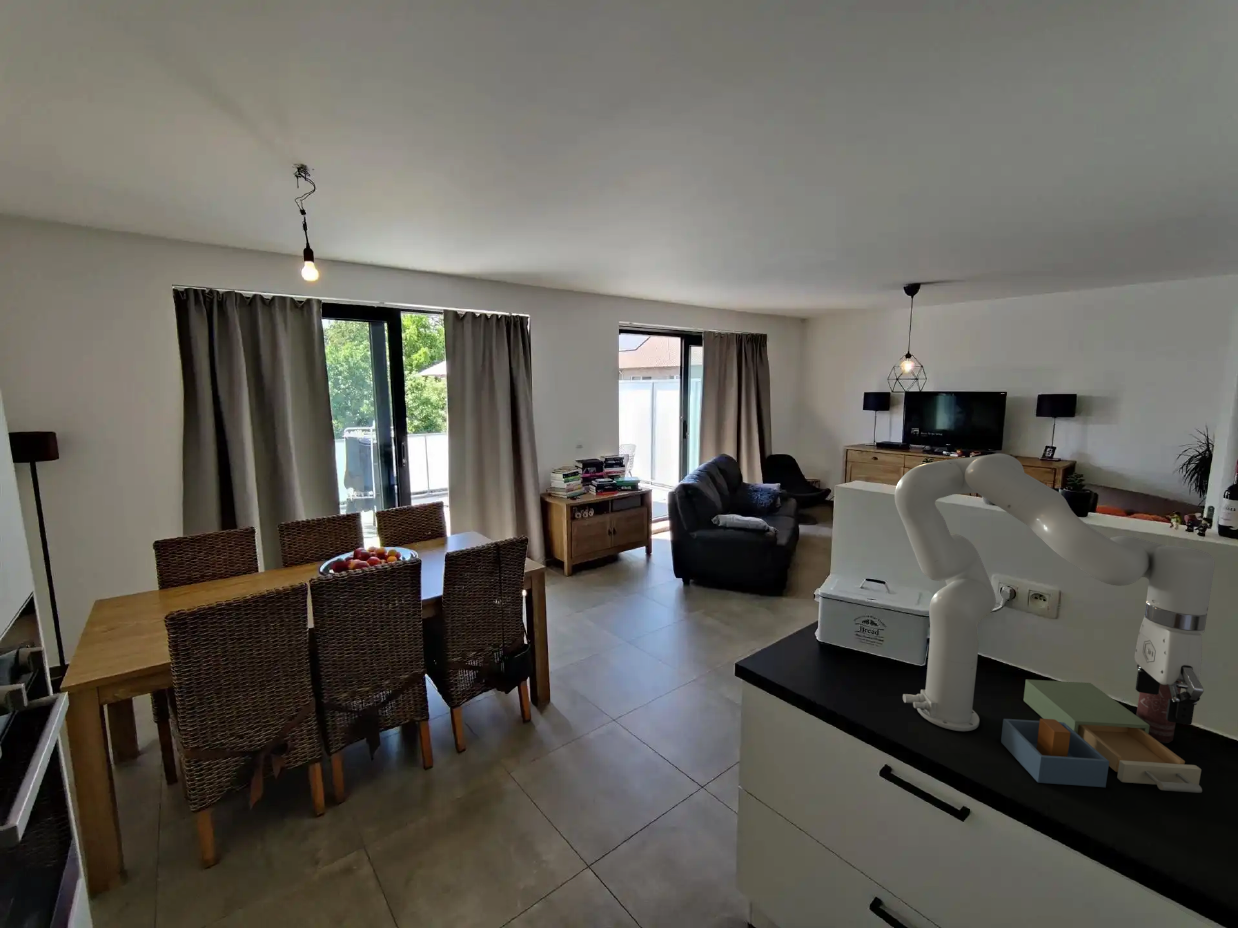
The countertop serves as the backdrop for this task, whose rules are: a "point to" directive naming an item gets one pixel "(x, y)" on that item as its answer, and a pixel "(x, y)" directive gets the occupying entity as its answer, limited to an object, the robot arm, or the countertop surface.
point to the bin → (1071, 770)
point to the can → (1157, 713)
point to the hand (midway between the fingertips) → (1161, 706)
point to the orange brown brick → (1052, 738)
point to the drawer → (1141, 758)
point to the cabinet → (1078, 705)
